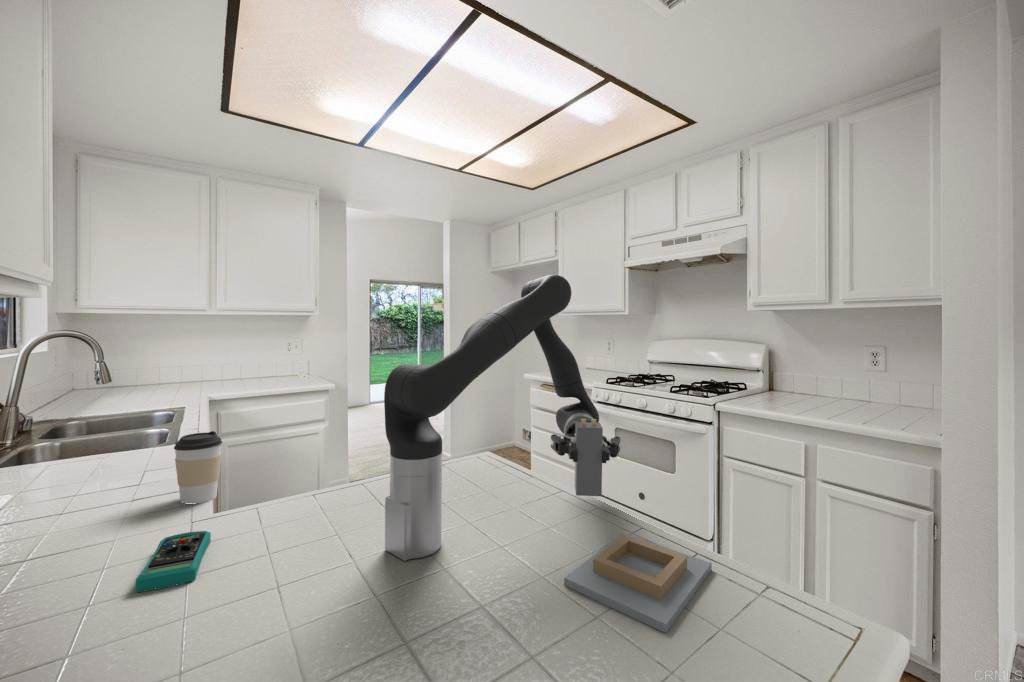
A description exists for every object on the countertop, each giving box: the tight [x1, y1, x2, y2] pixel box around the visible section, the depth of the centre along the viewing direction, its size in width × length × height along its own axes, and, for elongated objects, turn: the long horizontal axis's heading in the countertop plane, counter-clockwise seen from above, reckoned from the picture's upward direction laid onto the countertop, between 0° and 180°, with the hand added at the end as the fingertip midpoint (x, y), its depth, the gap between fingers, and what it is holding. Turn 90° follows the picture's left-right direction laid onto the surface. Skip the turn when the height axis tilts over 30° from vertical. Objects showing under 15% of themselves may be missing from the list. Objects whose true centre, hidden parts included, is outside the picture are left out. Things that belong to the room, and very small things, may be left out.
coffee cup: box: [173, 430, 223, 504], centre depth 99 cm, size 9×9×15 cm
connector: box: [574, 419, 604, 497], centre depth 77 cm, size 4×4×13 cm
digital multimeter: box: [135, 530, 212, 593], centre depth 72 cm, size 7×15×3 cm, turn 27°
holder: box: [563, 532, 713, 634], centre depth 69 cm, size 20×16×3 cm
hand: (590, 456), depth 74 cm, fingers closed on connector, 4 cm apart
